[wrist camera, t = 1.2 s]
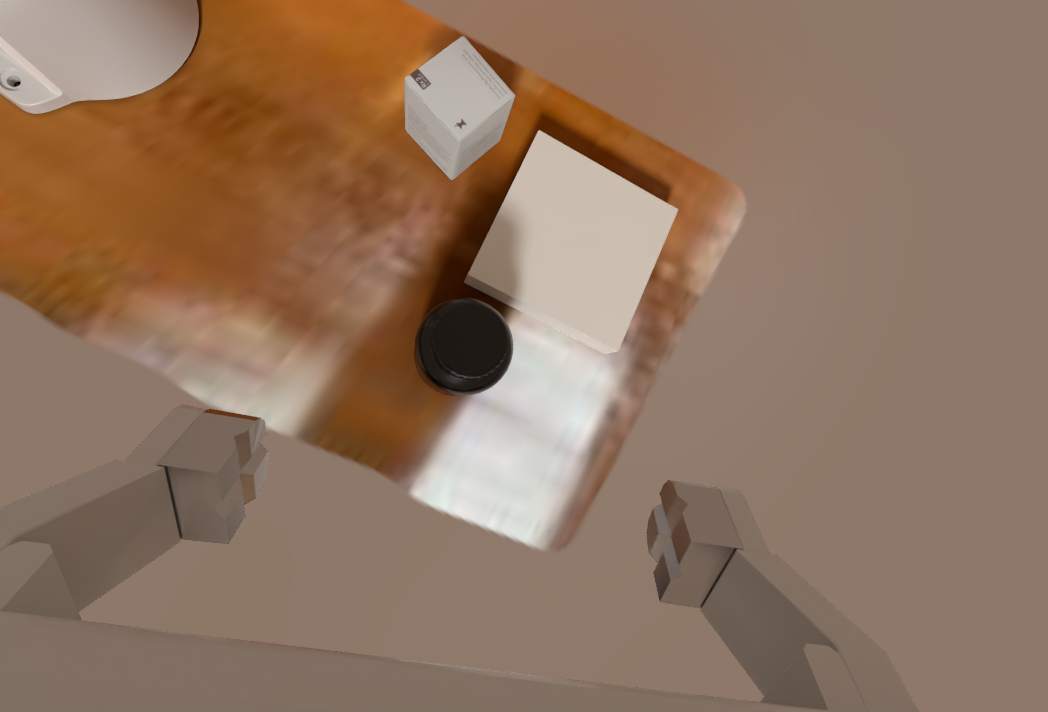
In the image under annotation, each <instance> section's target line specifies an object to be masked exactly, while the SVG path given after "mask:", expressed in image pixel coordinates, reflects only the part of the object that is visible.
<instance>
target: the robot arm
mask: <svg viewBox="0 0 1048 712" xmlns="http://www.w3.org/2000/svg"><path fill="white" fill-rule="evenodd" d="M198 27H199V11H198V4H197V0H0V94H1V95H3V96H4V97H6V98H7V99H8V100H10V101H11V102H12V103H14V104H15V105H17V106H18V107H19V108H21V109H22V110H24V111H26V112H29V113H34V114H39V113H45V112H49V111H52V110H55V109H58V108H60V107H63V106H65V105H68V104H70V103H72V102H76V101H83V100H110V99H119V98H125V97H129V96H133V95H137V94H140V93H143V92H145V91H148V90H150V89H152V88H154V87H156V86H158V85H159V84H161V83H163V82H164V81H166V80H167V79H168V78H170V77H171V76H172V75H173V74H174V73H175V72H176V71H177V70H178V69H179V68H180V67H181V66H182V65H183V63H184V62H185V61H186V59H187V58H188V56H189V54H190V53H191V51H192V49H193V46H194V44H195V41H196V37H197V33H198ZM19 81H21V84H20V85H19V86H17V87H14V84H15V83H16V82H19ZM265 436H266V427H265V421H264V420H263V419H261V418H258V417H253V416H247V415H241V414H236V413H230V412H224V411H219V410H213V409H209V410H208V409H203V408H198V407H193V406H187V405H181V406H178V407H176V408H174V409H173V410H172V411H171V412H170V413H169V414H168V416H167V417H166V418H165V419H164V420H163V421H162V422H161V423H160V424H159V425H158V426H157V427H156V428H155V429H154V430H153V431H152V432H151V434H149V435H148V437H147V438H146V439H145V440H144V441H143V442H142V443H141V444H140V445H139V446H138V447H137V448H136V449H135V450H134V451H133V452H132V453H131V455H129V456H128V458H127V459H126V460H125V461H119V460H114V461H112V462H110V463H107V464H105V465H102V466H100V467H98V468H95V469H93V470H90V471H88V472H86V473H83V474H81V475H79V476H76V477H74V478H71V479H69V480H66V481H64V482H62V483H59V484H57V485H54V486H53V487H50V488H47V489H45V490H43V491H40V492H38V493H35V494H33V495H31V496H28V497H26V498H23V499H21V500H18V501H16V502H14V503H11V504H9V505H7V506H4V507H2V508H0V712H919V710H918V709H917V707H916V705H915V703H914V702H913V700H912V698H911V696H910V695H909V693H908V691H907V689H906V687H905V685H904V684H903V682H902V680H901V678H900V677H899V675H898V673H897V671H896V669H895V667H894V666H893V664H892V662H891V660H890V658H889V657H888V655H887V653H886V652H885V651H884V650H883V649H882V648H881V647H880V646H879V645H877V644H876V643H875V642H874V641H873V640H872V639H871V638H870V637H868V636H867V635H866V634H865V633H864V632H863V631H862V630H861V629H860V628H858V627H857V626H856V625H855V624H854V623H853V622H852V621H851V620H849V619H848V618H847V617H846V616H845V615H844V614H843V613H842V612H840V611H839V610H838V609H837V608H836V607H835V606H834V605H833V604H832V603H830V602H829V601H828V600H827V599H826V598H825V597H824V596H822V595H821V594H820V593H819V592H818V591H817V590H816V589H815V588H814V587H812V586H811V585H810V584H809V583H808V582H807V581H806V580H805V579H803V578H802V577H801V576H800V575H799V574H798V573H797V572H796V571H795V570H793V569H792V568H791V567H790V566H789V565H788V564H787V563H786V562H784V561H783V560H782V559H781V558H780V557H779V556H778V555H773V554H770V553H769V550H768V548H767V546H766V544H765V541H764V539H763V537H762V535H761V532H760V530H759V528H758V526H757V524H756V522H755V519H754V517H753V515H752V513H751V511H750V508H749V506H748V504H747V501H746V499H745V497H744V495H743V493H742V492H740V491H739V490H737V489H729V488H722V487H712V486H705V485H698V484H691V483H685V482H677V481H671V480H668V481H667V482H666V483H665V484H664V485H663V487H662V489H661V492H660V496H661V500H662V503H661V504H659V505H658V506H656V507H655V508H653V510H652V512H651V515H650V517H649V520H648V527H647V545H648V550H649V554H650V555H651V556H652V557H653V558H654V560H655V561H656V562H657V563H658V564H657V566H656V568H655V570H654V573H653V574H654V578H655V583H656V587H657V592H658V596H659V601H660V602H663V603H669V604H676V605H681V606H687V607H694V608H700V609H701V610H700V611H701V612H702V614H704V616H705V618H706V619H707V620H708V622H709V623H710V624H711V626H712V627H713V628H714V630H715V631H716V632H717V634H718V635H719V636H720V637H721V639H722V640H723V642H724V643H725V644H726V646H727V647H728V648H729V650H730V651H731V652H732V654H733V655H734V656H735V658H736V659H737V660H738V662H739V663H740V664H741V666H742V667H743V668H744V670H745V671H746V672H747V674H748V675H749V677H750V678H751V679H752V680H753V682H754V683H755V685H756V686H757V687H758V689H759V690H760V691H761V692H762V694H763V695H764V697H763V699H762V700H761V701H760V702H754V701H746V700H737V699H729V698H721V697H713V696H704V695H696V694H687V693H679V692H671V691H663V690H654V689H646V688H637V687H629V686H620V685H612V684H604V683H595V682H587V681H579V680H570V679H561V678H554V677H545V676H537V675H528V674H519V673H511V672H503V671H495V670H486V669H478V668H470V667H462V666H453V665H445V664H436V663H429V662H420V661H412V660H404V659H396V658H387V657H378V656H371V655H362V654H354V653H346V652H338V651H330V650H321V649H313V648H305V647H296V646H288V645H280V644H271V643H264V642H255V641H246V640H239V639H230V638H221V637H213V636H205V635H197V634H188V633H181V632H172V631H163V630H156V629H147V628H139V627H131V626H122V625H113V624H106V623H97V622H89V621H82V620H81V617H80V615H79V613H78V612H79V611H81V610H82V609H84V608H85V607H87V606H88V605H89V604H91V603H92V602H94V601H95V600H97V599H98V598H100V597H101V596H102V595H104V594H105V593H107V592H108V591H110V590H111V589H113V588H114V587H116V586H117V585H118V584H120V583H121V582H123V581H124V580H126V579H127V578H129V577H130V576H132V575H133V574H134V573H136V572H137V571H139V570H140V569H142V568H143V567H145V566H146V565H147V564H149V563H150V562H152V561H153V560H155V559H156V558H157V557H159V556H161V555H162V554H163V553H165V552H166V551H168V550H169V549H171V548H172V547H174V546H175V545H177V544H178V543H179V542H180V539H184V540H193V541H203V542H213V543H222V544H229V543H230V541H231V539H232V538H233V536H234V534H235V533H236V531H237V529H238V528H239V526H240V524H241V523H242V521H243V519H244V518H245V508H244V505H245V504H247V503H249V502H250V501H252V500H254V499H255V498H256V497H257V496H258V494H259V492H260V490H261V488H262V487H263V484H264V481H265V478H266V475H267V470H268V462H269V460H268V451H267V450H266V449H265V447H264V446H263V445H262V444H261V442H262V440H263V439H264V437H265Z"/></svg>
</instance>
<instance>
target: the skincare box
mask: <svg viewBox="0 0 1048 712" xmlns="http://www.w3.org/2000/svg"><path fill="white" fill-rule="evenodd" d="M404 86H405V130H406V131H407V132H408V133H409V135H410V136H411V137H412V138H413V139H414V140H415V141H416V142H417V144H418V145H419V146H420V147H421V148H422V149H423V150H424V151H425V152H426V153H427V155H428V156H429V157H430V158H431V159H432V160H433V161H434V162H435V163H436V164H437V165H438V167H439V168H440V169H441V170H442V171H443V172H444V173H445V174H446V175H447V176H448V177H449V178H450V179H451V180H453V179H455V178H456V177H457V176H458V175H459V174H461V173H462V172H463V171H464V170H465V169H466V168H468V167H469V166H470V165H471V164H472V163H474V162H475V161H476V160H477V159H478V158H480V157H481V156H482V155H483V154H484V153H486V152H487V151H488V150H489V149H491V148H492V147H493V146H494V145H495V144H497V143H498V142H499V141H500V140H501V136H502V134H503V131H504V128H505V125H506V122H507V119H508V116H509V113H510V110H511V107H512V104H513V101H514V98H515V94H514V93H513V92H512V91H511V90H510V89H509V87H508V86H507V85H506V84H505V83H504V82H503V81H502V79H501V78H500V77H499V76H498V75H497V74H496V72H495V71H494V70H493V69H492V68H491V67H490V66H489V64H488V63H487V62H486V61H485V60H484V59H483V57H482V56H481V55H480V54H479V53H478V52H477V50H476V49H475V48H474V47H473V46H472V45H471V44H470V42H469V41H468V40H467V39H466V38H465V37H464V36H462V37H460V38H458V39H457V40H456V41H454V42H453V43H452V44H450V45H449V46H448V47H446V48H445V49H444V50H442V51H441V52H440V53H438V54H437V55H436V56H434V57H433V58H432V59H430V60H429V61H427V62H426V63H425V64H423V65H422V66H421V67H419V68H418V69H417V70H415V71H414V72H413V73H411V74H410V75H408V76H407V77H406V78H405V79H404Z"/></svg>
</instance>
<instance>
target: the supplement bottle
mask: <svg viewBox="0 0 1048 712" xmlns="http://www.w3.org/2000/svg"><path fill="white" fill-rule="evenodd" d="M512 355H513V339H512V335H511V331H510V329H509V326H508V324H507V322H506V321H505V319H504V318H503V317H502V315H501V314H500V313H499V312H498V311H497V310H496V309H494V308H493V307H492V306H490V305H489V304H487V303H485V302H482V301H480V300H477V299H472V298H455V299H451V300H448V301H445V302H443V303H441V304H439V305H437V306H436V307H435V308H433V309H432V310H431V311H430V312H429V313H428V314H427V315H426V316H425V318H424V319H423V321H422V322H421V324H420V326H419V328H418V331H417V335H416V339H415V349H414V359H415V364H416V368H417V370H418V373H419V375H420V376H421V378H422V379H423V380H424V382H425V383H426V384H427V385H428V386H429V387H431V388H432V389H434V390H435V391H437V392H439V393H442V394H445V395H450V396H465V395H473V394H477V393H480V392H483V391H485V390H487V389H489V388H491V387H492V386H494V385H495V384H496V383H497V382H498V381H499V380H500V379H501V378H502V377H503V376H504V374H505V373H506V371H507V369H508V367H509V365H510V363H511V359H512Z"/></svg>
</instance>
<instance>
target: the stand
mask: <svg viewBox="0 0 1048 712" xmlns="http://www.w3.org/2000/svg"><path fill="white" fill-rule="evenodd" d="M677 211H678V209H676V208H675V207H673V206H671V205H669V204H668V203H666V202H664V201H662V200H661V199H659V198H657V197H655V196H654V195H652V194H650V193H648V192H647V191H645V190H643V189H641V188H640V187H638V186H636V185H634V184H633V183H631V182H629V181H627V180H626V179H624V178H622V177H620V176H619V175H617V174H615V173H613V172H612V171H610V170H608V169H606V168H605V167H603V166H601V165H599V164H598V163H596V162H594V161H592V160H591V159H589V158H587V157H585V156H584V155H582V154H580V153H578V152H577V151H575V150H573V149H571V148H570V147H568V146H566V145H564V144H563V143H561V142H559V141H557V140H556V139H554V138H552V137H550V136H549V135H547V134H545V133H543V132H542V131H540V130H538V132H537V134H536V136H535V138H534V140H533V142H532V144H531V146H530V148H529V150H528V152H527V154H526V156H525V159H524V161H523V163H522V165H521V167H520V169H519V171H518V173H517V175H516V177H515V179H514V181H513V183H512V185H511V187H510V189H509V191H508V193H507V195H506V197H505V199H504V201H503V203H502V205H501V207H500V209H499V211H498V213H497V216H496V218H495V220H494V222H493V224H492V226H491V228H490V230H489V232H488V234H487V236H486V238H485V240H484V242H483V244H482V246H481V248H480V250H479V252H478V254H477V256H476V258H475V260H474V262H473V264H472V266H471V268H470V271H469V273H468V275H467V277H466V279H465V281H464V283H465V284H467V285H469V286H471V287H473V288H475V289H477V290H479V291H481V292H483V293H485V294H487V295H489V296H491V297H493V298H495V299H497V300H499V301H501V302H503V303H505V304H507V305H509V306H511V307H513V308H515V309H517V310H519V311H521V312H523V313H524V314H526V315H528V316H530V317H532V318H534V319H536V320H538V321H540V322H542V323H544V324H546V325H548V326H550V327H552V328H554V329H556V330H558V331H560V332H562V333H564V334H566V335H568V336H570V337H572V338H574V339H576V340H578V341H580V342H582V343H584V344H586V345H588V346H590V347H592V348H594V349H596V350H598V351H599V352H601V353H603V354H609V353H613V352H617V351H619V348H620V346H621V343H622V341H623V339H624V336H625V334H626V332H627V329H628V327H629V325H630V322H631V320H632V317H633V315H634V313H635V310H636V308H637V306H638V303H639V301H640V299H641V296H642V294H643V291H644V289H645V287H646V284H647V282H648V280H649V277H650V275H651V273H652V270H653V268H654V266H655V263H656V261H657V258H658V256H659V254H660V251H661V249H662V247H663V244H664V242H665V240H666V237H667V235H668V232H669V230H670V228H671V225H672V223H673V221H674V218H675V216H676V214H677Z"/></svg>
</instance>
